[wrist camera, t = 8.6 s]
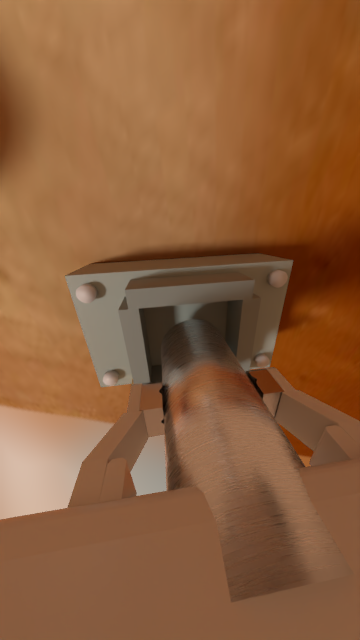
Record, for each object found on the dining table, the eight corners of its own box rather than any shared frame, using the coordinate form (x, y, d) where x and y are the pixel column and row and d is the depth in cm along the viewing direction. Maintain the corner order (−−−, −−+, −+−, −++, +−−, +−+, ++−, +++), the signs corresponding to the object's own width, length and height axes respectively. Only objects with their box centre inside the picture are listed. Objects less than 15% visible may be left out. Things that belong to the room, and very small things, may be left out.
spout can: (158, 322, 12) (169, 935, 1) (224, 316, 12) (592, 772, 2) (163, 374, 14) (185, 797, 3) (220, 367, 14) (392, 730, 4)
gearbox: (89, 263, 16) (9, 302, 7) (258, 253, 18) (363, 274, 9) (112, 353, 21) (80, 445, 12) (246, 339, 22) (308, 412, 13)
